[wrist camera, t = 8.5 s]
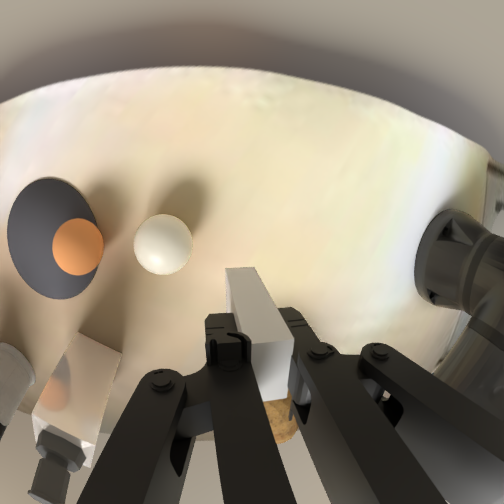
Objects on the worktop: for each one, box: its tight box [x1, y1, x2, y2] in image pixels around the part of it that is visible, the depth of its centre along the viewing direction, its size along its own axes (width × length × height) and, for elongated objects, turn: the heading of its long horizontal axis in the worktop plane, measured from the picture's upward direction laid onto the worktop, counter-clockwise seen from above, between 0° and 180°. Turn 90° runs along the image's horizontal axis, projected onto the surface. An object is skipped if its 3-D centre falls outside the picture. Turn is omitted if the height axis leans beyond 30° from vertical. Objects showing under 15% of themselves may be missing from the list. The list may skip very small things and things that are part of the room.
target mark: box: [7, 179, 98, 299], centre depth 24 cm, size 14×14×1 cm
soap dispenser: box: [28, 332, 122, 504], centre depth 19 cm, size 6×9×22 cm
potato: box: [263, 389, 298, 444], centre depth 30 cm, size 10×14×8 cm
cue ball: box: [134, 214, 193, 275], centre depth 24 cm, size 6×6×6 cm
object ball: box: [52, 218, 104, 275], centre depth 22 cm, size 6×6×6 cm
